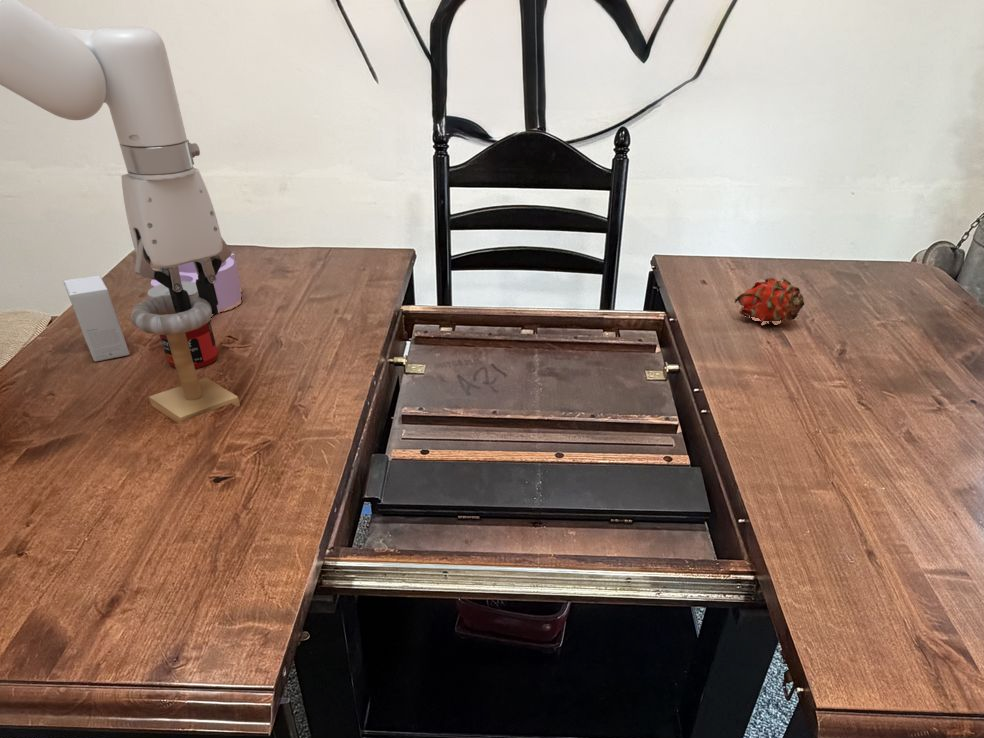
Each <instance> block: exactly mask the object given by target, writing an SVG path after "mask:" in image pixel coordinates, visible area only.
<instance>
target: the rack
mask: <svg viewBox="0 0 984 738" xmlns="http://www.w3.org/2000/svg"><path fill="white" fill-rule="evenodd" d="M166 336H167V339H168V343H169V346H170V350H171V353H172V356H173V360H174V363H175V367H176V368H175V367H174V368H175V370H176V373H177V377H178V380H179V383H180V385H179V386H176V387H173V388H170V389H167V390H164V391H161V392H158V393H156V394H152V395H149V396H148V399H149V402H150V405H151V407H152V408H154V409H155V410H157V411H158V412H159V413H161V414H163V415H165V416H166V417H167V418H169V419H170V420H171V421H173V422H175V423H176V424H179V423H182V422H184V421H188V420H190V419H191V418H195V417H198V416H201V415H203V414H206V413H208V412H211V411H214V410H218V409H219V408H222V407H226V406H228V405H231V404H232V405H233V406H235V407H237V408H239V407H241V403H240V399H239V396H238V395H236V394H234V393H233V392H231V391H229V390H227V389H226V388H224V387H222V386H221V385H219V384H217V383H215V382H214V381H212V380H210V379H208V377H203V378H201V379H198V375H197V371H196V368H195V367H194V364H193V360H192V356H191V353H190V349H189V345H188V342H187V338H186V335H185V333H180V334H169V335H166Z"/></svg>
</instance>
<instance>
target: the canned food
mask: <svg viewBox="0 0 984 738" xmlns="http://www.w3.org/2000/svg"><path fill="white" fill-rule="evenodd" d="M181 284H182V287H183V290H186V291H187V292H188V295H195V296H198V297H199V294H198V290H197V286H196V283H194V282H187V281H181ZM161 295H170V292H169V289H168V288H167V287H165V286H164V285H163V284H160V285H157V286H155V287H153V288H152V287H151V288H149V289H148V290H147V299H149V298H153V297H157V296H161ZM174 314H176V313H174ZM158 335H159V338H160V342H161V345H162V348H163V351H164V355H165V358H166V360H167V362H168V363H169V364H170V366H172V367H173V368H175V369H176V367H175V363H174V360H173V356H172V353H171V350H170V346H169V343H168V339H167V336H166V335H160V334H158ZM185 335H186V338H187V342H188V345H189V349H190V353H191V356H192V360H193V364H194V367H195V369H199V368H203V367H206V365H207V366H209V365H211V364H213V363H214V362H215V361H216V360H217V359H218V348H217V344H216V339H215V335H214V331H213V327H212V324H211V321H209V322H208V323H206V324H205V325H203V326H202V327H200V328H199V329H195V330H192V331H189V332H185ZM212 362H213V363H212Z"/></svg>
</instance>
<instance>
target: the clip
mask: <svg viewBox="0 0 984 738" xmlns="http://www.w3.org/2000/svg"><path fill="white" fill-rule="evenodd" d="M178 268H179V273H180V279H181V281H187V282H194V283H196V280H197V279H198V275H197V272H196V269H195V266H194V263H193V262H190V263H186V264H182V265H178ZM160 284H161V283H159V282H158V281H156V280H153V279H151V281H150V285H151V288H153V287H155V286H157V285H160ZM214 287H215V292H216V296H217V300H218V305H217V309H218V310H221V309H224V308H228V307H230V306H232V305H234V304H236V303H237V302H239V300H240V299H241V296H242V293H241V291H240V287H242V283H241V279H240V274H239V269H238V264H237V260H236V255H235V253H233V252H232V253H231V255H230V257H229V258H228V259H227V260H226V261H225V262H224V263H222V264H221V267H220V269H219V271H218V273H217V275H216V282H215V283H214Z"/></svg>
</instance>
